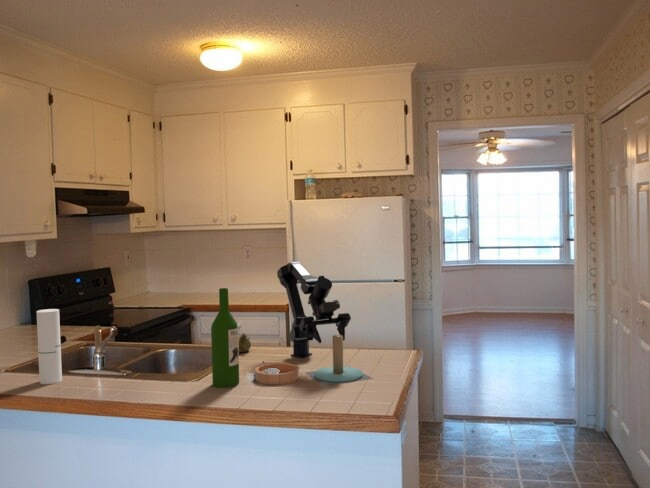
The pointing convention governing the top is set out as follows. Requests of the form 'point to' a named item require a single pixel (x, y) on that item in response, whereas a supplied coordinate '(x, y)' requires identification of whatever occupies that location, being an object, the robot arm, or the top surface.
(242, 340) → the artichoke
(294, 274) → the robot arm
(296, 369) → the bowl
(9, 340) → the top surface
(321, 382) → the mat
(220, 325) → the wine bottle
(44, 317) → the cylindrical container
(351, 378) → the teal disc with post
